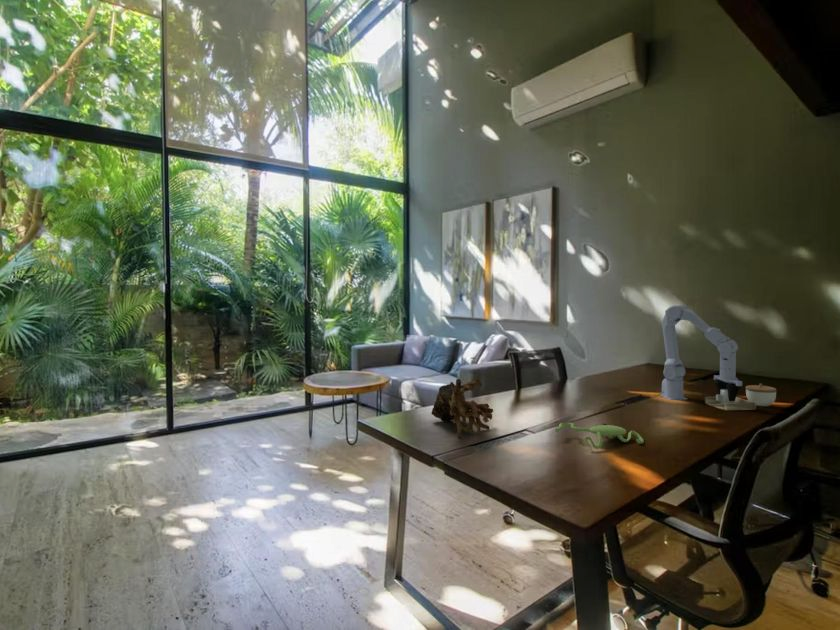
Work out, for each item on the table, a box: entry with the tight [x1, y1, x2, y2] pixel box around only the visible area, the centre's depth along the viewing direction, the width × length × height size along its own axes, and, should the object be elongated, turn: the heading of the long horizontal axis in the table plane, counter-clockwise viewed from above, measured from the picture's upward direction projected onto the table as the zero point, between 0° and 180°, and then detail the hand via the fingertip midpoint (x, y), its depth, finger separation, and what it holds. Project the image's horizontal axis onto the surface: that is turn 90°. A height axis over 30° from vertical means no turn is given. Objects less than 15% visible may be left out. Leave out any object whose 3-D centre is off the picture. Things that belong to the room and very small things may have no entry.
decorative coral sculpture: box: [430, 378, 494, 438], centre depth 172 cm, size 26×23×30 cm
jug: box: [715, 389, 734, 404], centre depth 194 cm, size 5×7×6 cm
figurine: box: [555, 422, 645, 452], centre depth 154 cm, size 18×27×6 cm
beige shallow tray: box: [704, 396, 757, 411], centre depth 194 cm, size 13×13×3 cm
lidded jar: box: [745, 383, 777, 407], centre depth 195 cm, size 11×11×9 cm
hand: (727, 399), depth 194 cm, fingers closed on jug, 5 cm apart
